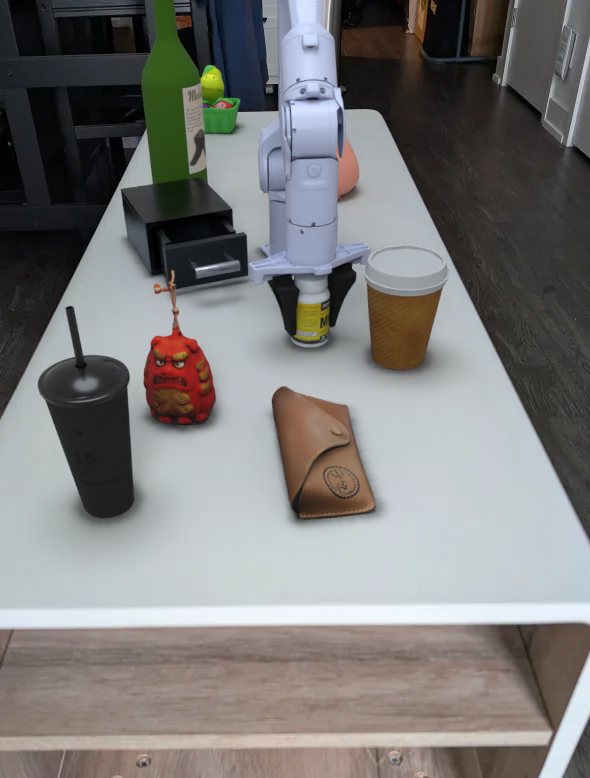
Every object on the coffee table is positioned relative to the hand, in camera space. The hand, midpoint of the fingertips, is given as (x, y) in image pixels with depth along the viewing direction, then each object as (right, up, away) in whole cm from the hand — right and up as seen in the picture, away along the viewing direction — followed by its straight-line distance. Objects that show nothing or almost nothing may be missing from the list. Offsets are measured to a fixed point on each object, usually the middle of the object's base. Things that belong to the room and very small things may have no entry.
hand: (309, 327), depth 98 cm
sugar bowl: (+3, +33, +40) cm, 52 cm away
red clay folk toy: (-14, -12, -10) cm, 21 cm away
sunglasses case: (0, -17, -17) cm, 24 cm away
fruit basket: (-17, +57, +69) cm, 92 cm away
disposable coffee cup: (+10, -4, -2) cm, 11 cm away
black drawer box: (-19, +17, +23) cm, 34 cm away
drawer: (-15, +11, +15) cm, 24 cm away
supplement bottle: (0, -1, +1) cm, 2 cm away
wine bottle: (-19, +27, +35) cm, 48 cm away
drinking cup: (-20, -22, -22) cm, 37 cm away
